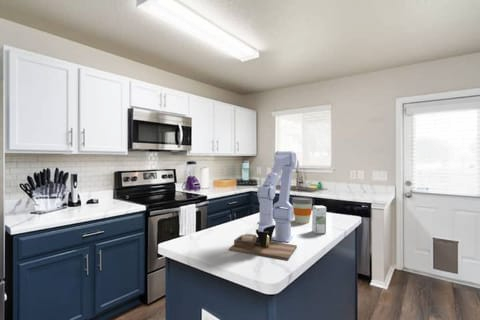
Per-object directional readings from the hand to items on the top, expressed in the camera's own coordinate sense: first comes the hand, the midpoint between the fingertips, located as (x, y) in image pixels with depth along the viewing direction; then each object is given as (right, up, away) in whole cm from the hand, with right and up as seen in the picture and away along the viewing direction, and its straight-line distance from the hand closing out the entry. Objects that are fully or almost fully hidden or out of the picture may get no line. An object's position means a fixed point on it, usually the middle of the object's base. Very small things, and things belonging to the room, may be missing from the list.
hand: (265, 243), depth 115 cm
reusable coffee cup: (+28, -2, +50) cm, 57 cm away
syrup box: (+32, -3, +26) cm, 41 cm away
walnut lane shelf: (-1, -2, 0) cm, 3 cm away
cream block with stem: (-4, -1, +2) cm, 5 cm away
